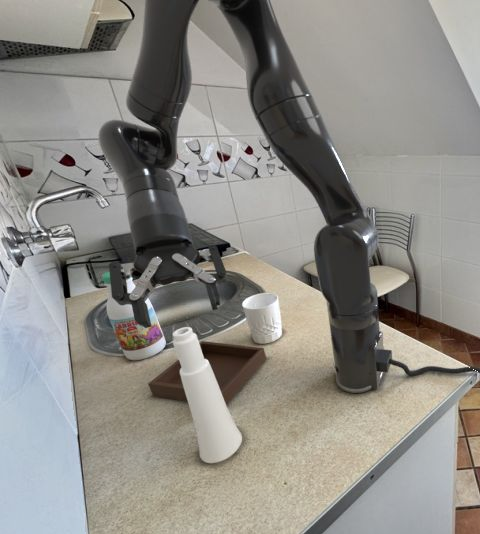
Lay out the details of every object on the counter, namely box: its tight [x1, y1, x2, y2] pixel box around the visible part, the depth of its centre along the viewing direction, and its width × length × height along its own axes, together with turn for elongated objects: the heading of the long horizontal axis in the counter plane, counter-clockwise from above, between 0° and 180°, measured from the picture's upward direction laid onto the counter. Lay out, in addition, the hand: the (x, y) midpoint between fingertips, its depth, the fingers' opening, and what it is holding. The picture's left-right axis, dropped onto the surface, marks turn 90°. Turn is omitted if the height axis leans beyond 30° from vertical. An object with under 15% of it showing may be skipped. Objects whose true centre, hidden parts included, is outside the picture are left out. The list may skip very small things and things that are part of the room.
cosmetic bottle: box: [172, 326, 243, 464], centre depth 47 cm, size 6×6×22 cm
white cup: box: [241, 292, 283, 345], centre depth 78 cm, size 8×8×10 cm
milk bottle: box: [101, 271, 167, 361], centre depth 71 cm, size 8×8×20 cm
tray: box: [147, 340, 267, 405], centre depth 66 cm, size 16×14×3 cm
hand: (182, 316), depth 48 cm, fingers open, 8 cm apart
